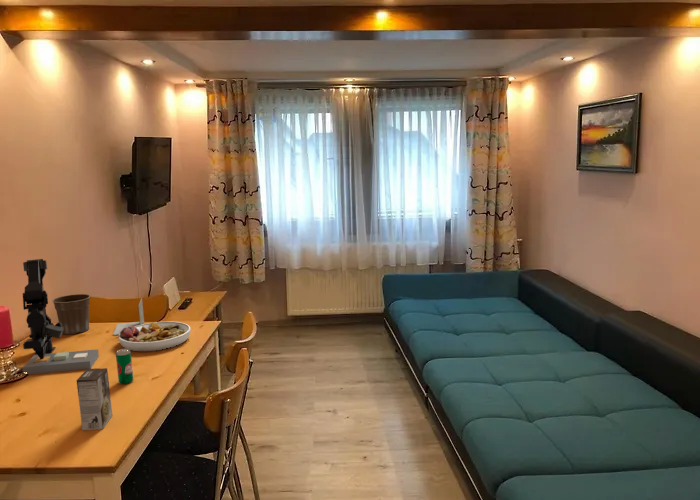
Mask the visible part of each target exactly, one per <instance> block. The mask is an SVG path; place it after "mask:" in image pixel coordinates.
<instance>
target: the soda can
mask: <svg viewBox="0 0 700 500" xmlns="http://www.w3.org/2000/svg"><path fill="white" fill-rule="evenodd" d="M115 360H116V369H117V370H116V371H117V380H118V383H119V384H121V385H129V384H131V383H133V381H134V371H133V362H132V351H131V350H129V349H126V348H121V349H117V350H116V353H115Z"/></svg>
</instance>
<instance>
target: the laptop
mask: <svg viewBox="0 0 700 500" xmlns="http://www.w3.org/2000/svg"><path fill="white" fill-rule="evenodd" d="M143 305H144V304H143V297H141V298H140V299H139V303H138V305H137V308H138V309H137V310H138V321H133V322H124V323H123V322H122V323H117V324H116V326H115V328H114V331H113V333H112V336H119V334H120V332H121V331H122V330H123V329H124V328H128V327H130V326H138V325H142V324H145V315H144V307H143Z"/></svg>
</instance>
